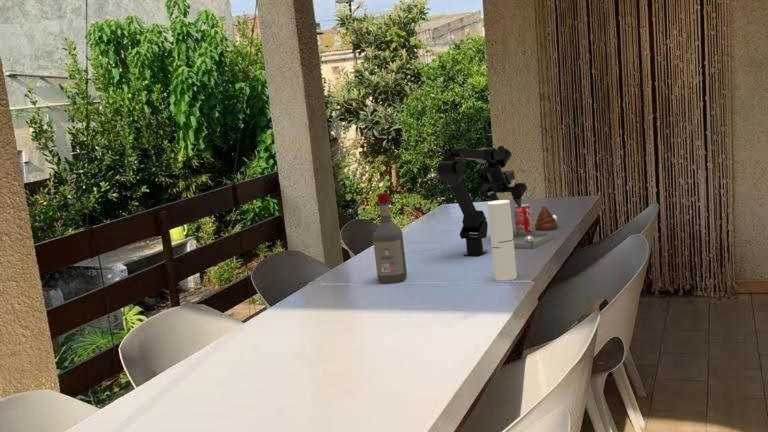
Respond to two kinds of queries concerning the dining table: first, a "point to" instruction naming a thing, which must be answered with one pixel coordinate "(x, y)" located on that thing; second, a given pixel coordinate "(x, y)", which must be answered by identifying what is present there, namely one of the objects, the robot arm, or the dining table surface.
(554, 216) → the poop emoji
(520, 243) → the gray tray
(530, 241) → the steel mixing ball
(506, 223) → the cylindrical container
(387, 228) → the liquor
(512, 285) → the dining table surface
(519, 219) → the soda can
